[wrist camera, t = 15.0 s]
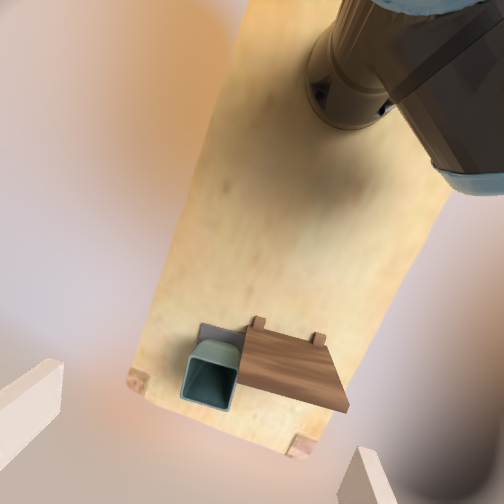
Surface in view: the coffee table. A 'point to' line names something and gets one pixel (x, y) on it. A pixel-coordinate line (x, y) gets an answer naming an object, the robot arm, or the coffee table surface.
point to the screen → (291, 367)
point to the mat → (221, 336)
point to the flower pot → (211, 374)
